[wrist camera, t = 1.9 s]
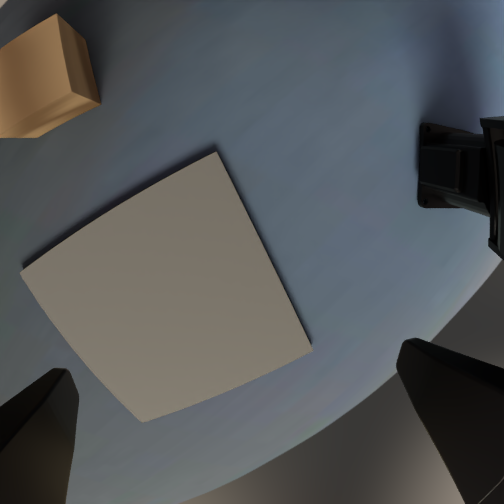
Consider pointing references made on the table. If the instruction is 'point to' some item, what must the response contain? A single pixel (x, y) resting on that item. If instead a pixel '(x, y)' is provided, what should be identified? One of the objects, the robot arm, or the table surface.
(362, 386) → the table surface
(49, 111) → the light brown cube
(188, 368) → the mat
